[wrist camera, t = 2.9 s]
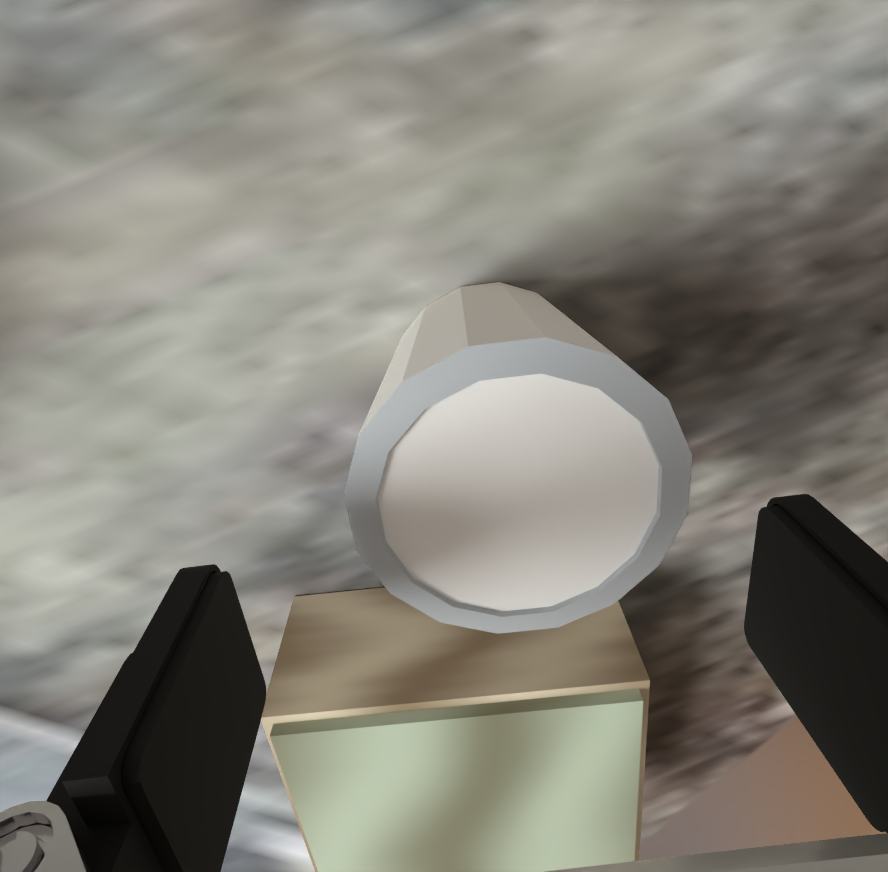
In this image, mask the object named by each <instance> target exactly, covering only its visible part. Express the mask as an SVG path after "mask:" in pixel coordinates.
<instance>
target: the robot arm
mask: <svg viewBox="0 0 888 872" xmlns="http://www.w3.org/2000/svg"><path fill="white" fill-rule="evenodd" d="M744 630H745V635H746V639H747V641H748V644H749V646H750V647H751V649H752V650H753V652H754V653H755V655H756V656H757V658H758V659H759V661H760V662H761V664H762V665H763V667H764V668H765V669H766V671H767V672H768V674H769V675H770V677H771V678H772V680H773V681H774V683H775V684H776V686H777V687H778V689H779V690H780V692H781V693H782V695H783V696H784V697H785V699H786V700H787V702H788V703H789V705H790V706H791V708H792V709H793V711H794V712H795V714H796V715H797V717H798V718H799V719H800V721H801V723H802V724H803V725H804V727H805V728H806V730H807V731H808V733H809V734H810V736H811V737H812V738H813V740H814V742H815V743H816V745H817V746H818V748H819V749H820V750H821V752H822V753H823V755H824V756H825V758H826V759H827V761H828V762H829V764H830V765H831V767H832V768H833V769H834V771H835V773H836V774H837V776H838V777H839V779H840V780H841V781H842V783H843V784H844V786H845V787H846V789H847V790H848V792H849V793H850V795H851V796H852V798H853V799H854V801H855V802H856V803H857V805H858V806H859V808H860V809H861V811H862V812H863V814H864V815H865V817H866V818H867V820H868V821H869V822H870V824H871V825H872V826H873V827H874V828H875V829H877V830H878V831H880V832H886V833H887V834H877V835H866V836H856V837H847V838H837V839H829V840H819V841H811V842H801V843H792V844H783V845H774V846H765V847H756V848H747V849H739V850H729V851H720V852H711V853H702V854H693V855H685V856H676V857H666V858H658V859H650V860H641V861H632V862H623V863H614V864H606V865H597V866H588V867H580V868H571V869H563V870H554V871H545V872H888V562H887V561H886V560H885V559H883V558H882V557H881V556H880V555H879V554H878V553H877V552H875V551H874V550H873V549H872V548H871V547H870V546H869V545H867V544H866V543H865V542H864V541H863V540H862V539H860V538H859V537H858V536H857V535H856V534H855V533H854V532H852V531H851V530H850V529H849V528H848V527H847V526H846V525H844V524H843V523H842V522H841V521H840V520H839V519H837V518H836V517H835V516H834V515H833V514H832V513H831V512H829V511H828V510H827V509H826V508H825V507H824V506H822V505H821V504H820V503H819V502H818V501H817V500H816V499H814V498H813V497H812V496H810V495H808V494H801V495H792V496H784V497H776V498H772V499H770V501H769V502H768V505H767V507H763V508H761V510H760V511H759V514H758V521H757V529H756V537H755V544H754V552H753V560H752V568H751V576H750V583H749V591H748V599H747V607H746V614H745V622H744ZM265 701H266V685H265V680H264V677H263V674H262V671H261V668H260V665H259V662H258V659H257V656H256V652H255V649H254V646H253V643H252V640H251V637H250V634H249V631H248V628H247V624H246V621H245V618H244V615H243V612H242V609H241V606H240V603H239V600H238V596H237V593H236V590H235V587H234V584H233V581H232V578H231V576H230V574H229V573H228V572H226V571H224V572H221V571H220V569H219V568H218V567H217V565H214V564H213V565H205V566H196V567H188V568H182V569H180V570H179V572H178V573H177V575H176V576H175V578H174V580H173V582H172V584H171V585H170V587H169V589H168V591H167V593H166V594H165V596H164V598H163V600H162V602H161V603H160V605H159V607H158V609H157V611H156V612H155V614H154V616H153V618H152V620H151V621H150V623H149V625H148V627H147V629H146V630H145V632H144V634H143V636H142V638H141V639H140V641H139V643H138V645H137V647H136V648H135V650H134V652H133V653H131V654H130V655H129V656H128V658H127V659H126V660H125V662H124V664H123V665H122V667H121V669H120V671H119V672H118V674H117V676H116V678H115V680H114V681H113V683H112V685H111V687H110V688H109V690H108V692H107V694H106V696H105V697H104V699H103V701H102V703H101V704H100V706H99V708H98V710H97V712H96V713H95V715H94V717H93V719H92V720H91V722H90V724H89V726H88V728H87V729H86V731H85V733H84V735H83V736H82V738H81V740H80V742H79V744H78V745H77V747H76V749H75V751H74V752H73V754H72V756H71V758H70V760H69V761H68V763H67V765H66V767H65V769H64V770H63V772H62V774H61V776H60V777H59V779H58V781H57V783H56V785H55V786H54V788H53V790H52V792H51V793H50V795H49V797H48V799H47V801H33V802H27V803H24V804H20V805H17V806H14V807H11V808H9V809H7V810H5V811H3V812H1V813H0V872H220V871H221V868H222V864H223V860H224V856H225V853H226V849H227V845H228V841H229V838H230V834H231V830H232V826H233V822H234V819H235V815H236V811H237V807H238V804H239V800H240V796H241V792H242V789H243V785H244V781H245V777H246V774H247V770H248V766H249V762H250V759H251V755H252V751H253V747H254V743H255V740H256V736H257V732H258V728H259V725H260V721H261V717H262V713H263V710H264V706H265Z"/></svg>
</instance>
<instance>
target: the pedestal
mask: <svg viewBox="0 0 888 872" xmlns="http://www.w3.org/2000/svg"><path fill="white" fill-rule="evenodd" d="M649 689H650V679H649V676H648V674H647V671H646V669H645V666H644V664H643V661H642V659H641V656H640V654H639V651H638V649H637V646H636V644H635V641H634V639H633V636H632V634H631V631H630V629H629V626H628V624H627V621H626V619H625V616H624V614H623V611H622V609H621V606H620V604H619V601H617V602H616V603H615V604H613V605H611V606H608V607H606V608H603V609H601V610H599V611H596V612H594V613H591V614H589V615H587V616H584V617H582V618H579V619H577V620H575V621H572V622H570V623H568V624H565V625H563V626H560V627H558V628H548V629H539V630H529V631H520V632H510V633H500V634H497V633H491V632H486V631H481V630H476V629H471V628H466V627H461V626H456V625H451V624H446V623H441V622H438V621H437V620H435V619H433V618H432V617H430V616H428V615H426V614H425V613H423V612H421V611H419V610H418V609H416V608H414V607H413V606H411V605H409V604H407V603H406V602H404V601H402V600H400V599H399V598H397V597H395V596H394V595H392V594H390V592H389V591H388V590H387V589H386V587H383V588H373V589H364V590H354V591H344V592H334V593H324V594H314V595H305V596H295V597H294V599H293V603H292V606H291V610H290V613H289V617H288V620H287V624H286V628H285V631H284V635H283V638H282V642H281V645H280V649H279V652H278V656H277V659H276V663H275V667H274V670H273V674H272V677H271V681H270V684H269V688H268V691H267V695H266V701H265V706H264V710H263V713H262V717H261V722H262V725H263V727H264V730H265V733H266V736H267V739H268V741H269V744H270V747H271V750H272V752H273V755H274V758H275V761H276V763H277V766H278V769H279V772H280V775H281V777H282V780H283V783H284V786H285V788H286V791H287V794H288V797H289V800H290V802H291V805H292V808H293V811H294V813H295V816H296V819H297V822H298V824H299V827H300V830H301V833H302V836H303V838H304V841H305V844H306V847H307V849H308V852H309V855H310V858H311V861H312V863H313V866H314V869H315V872H545V871H554V870H563V869H571V868H580V867H588V866H597V865H606V864H614V863H623V862H632V861H639V851H640V836H641V819H642V803H643V787H644V771H645V754H646V738H647V722H648V706H649Z"/></svg>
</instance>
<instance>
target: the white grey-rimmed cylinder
mask: <svg viewBox="0 0 888 872" xmlns="http://www.w3.org/2000/svg"><path fill="white" fill-rule="evenodd" d="M691 467H692V453H691V451H690V449H689V446H688V444H687V442H686V439H685V437H684V435H683V432H682V430H681V428H680V425H679V423H678V420H677V418H676V416H675V413H674V411H673V409H672V406H671V404H670V402H669V399H667V398H666V397H665V396H664V395H663V394H661V393H660V392H659V391H658V390H657V389H655V388H654V387H653V386H652V385H651V384H649V383H648V382H647V381H646V380H645V379H643V378H642V377H641V376H640V375H639V374H637V373H636V372H635V371H634V370H633V369H631V368H630V367H629V366H628V365H627V364H625V363H624V362H623V361H622V360H621V359H619V358H618V357H617V356H616V355H614V354H613V353H612V352H611V351H609V350H608V349H607V348H606V347H604V346H603V345H602V344H601V343H599V342H598V341H597V340H596V339H594V338H593V337H592V336H591V335H589V334H588V333H587V332H586V331H584V330H583V329H582V328H581V327H579V326H578V325H577V324H576V323H574V322H573V321H572V320H571V319H569V318H568V317H567V316H566V315H564V314H563V313H562V312H561V311H559V310H558V309H557V308H555V307H554V306H553V305H552V304H550V303H549V302H548V301H547V300H545V299H544V298H543V297H542V296H540V295H539V294H538V293H536V292H533V291H529V290H526V289H522V288H519V287H515V286H512V285H508V284H505V283H501V282H496V283H488V284H480V285H472V286H463V287H459V288H457V289H455V290H454V291H452V292H450V293H448V294H447V295H445V296H443V297H441V298H439V299H438V300H436V301H434V302H432V303H431V304H429V305H427V306H426V307H425V308H424V309H423V310H422V312H421V313H420V314H419V315H418V317H417V318H416V319H415V321H414V322H413V323H412V324H411V326H410V327H409V328H408V329H407V331H406V332H405V333H404V335H403V336H402V338H401V340H400V343H399V345H398V347H397V349H396V352H395V354H394V356H393V358H392V361H391V363H390V365H389V367H388V370H387V372H386V374H385V377H384V379H383V381H382V383H381V386H380V388H379V390H378V392H377V395H376V397H375V399H374V401H373V404H372V406H371V408H370V410H369V413H368V415H367V417H366V420H365V422H364V424H363V426H362V429H361V431H360V433H359V435H358V439H357V443H356V448H355V452H354V456H353V460H352V464H351V468H350V472H349V476H348V480H347V484H346V488H345V492H344V498H345V502H346V506H347V511H348V515H349V520H350V524H351V529H352V533H353V538H354V542H355V546H356V550H357V551H358V553H359V554H360V555H361V557H362V558H363V559H364V560H365V562H366V563H367V564H368V566H369V567H370V568H371V569H372V571H373V572H374V573H375V574H376V576H377V577H378V578H379V580H380V581H381V582H382V583H383V585H384V586H385V587H386V589H387V590H388V591H389V592H390V594H392V595H394V596H395V597H397V598H399V599H400V600H402V601H404V602H406V603H407V604H409V605H411V606H413V607H414V608H416V609H418V610H419V611H421V612H423V613H425V614H426V615H428V616H430V617H432V618H433V619H435V620H437V621H438V622H441V623H446V624H451V625H456V626H461V627H466V628H471V629H476V630H481V631H486V632H491V633H497V634H500V633H510V632H520V631H529V630H539V629H548V628H558V627H560V626H563V625H565V624H568V623H570V622H572V621H575V620H577V619H579V618H582V617H584V616H587V615H589V614H591V613H594V612H596V611H599V610H601V609H603V608H606V607H608V606H611V605H613V604H615V603H616V602H617V601H618V600H619V599H621V598H622V597H623V596H624V595H625V594H626V593H628V592H629V591H630V590H631V589H632V588H633V587H635V586H636V585H637V584H638V583H639V582H640V581H642V580H643V579H644V578H645V577H646V576H647V575H649V574H650V573H651V572H652V571H653V570H654V569H656V568H657V567H658V566H659V565H660V563H661V562H662V560H663V558H664V556H665V554H666V552H667V551H668V549H669V547H670V545H671V543H672V542H673V540H674V538H675V536H676V534H677V532H678V531H679V529H680V527H681V525H682V523H683V522H684V520H685V518H686V516H687V514H688V506H689V493H690V480H691Z"/></svg>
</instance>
